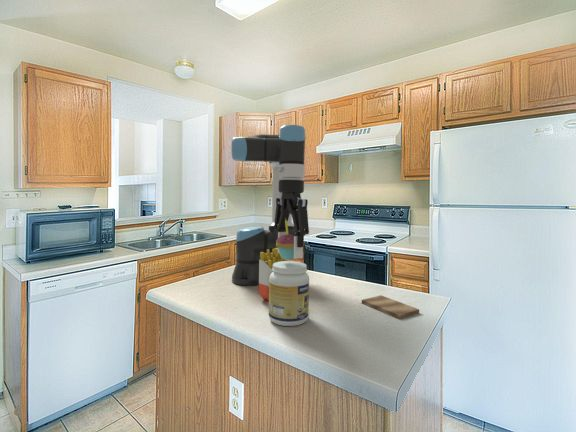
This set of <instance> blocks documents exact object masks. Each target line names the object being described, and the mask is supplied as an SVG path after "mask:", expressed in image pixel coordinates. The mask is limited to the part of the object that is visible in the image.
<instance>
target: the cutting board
mask: <svg viewBox="0 0 576 432" xmlns="http://www.w3.org/2000/svg"><path fill="white" fill-rule="evenodd" d="M361 304H363V305H365V306H367V307H370V308H372V309H374V310H377V311H380V312H381V313H384V314H387V315H388V316H391V317H392V318H393V317H394V318H395V319H398V320H401V319H404V318H408V317H410V316H414V315H417V314H419V313H420V309H419V308H417V307H413V306H412V305H409V304H406V303H403V302H401V301H398V300H395V299H392V298H390V297H387V296H384V295H381V294H380V295H375V296H373V297H372V296H371V297H367V298H364V299H361Z"/></svg>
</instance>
